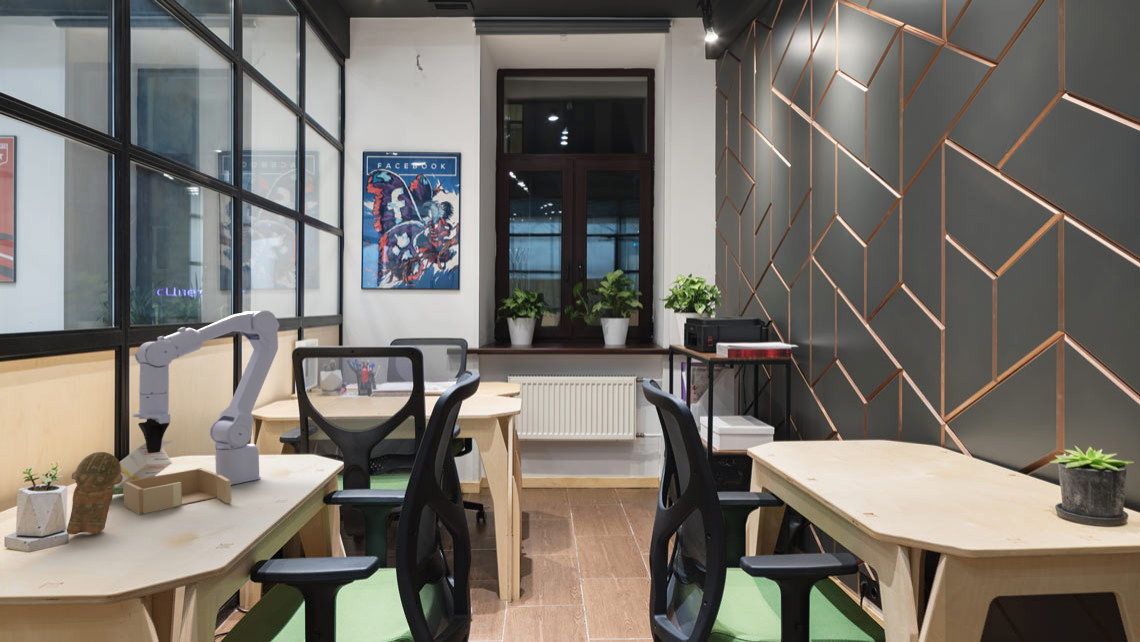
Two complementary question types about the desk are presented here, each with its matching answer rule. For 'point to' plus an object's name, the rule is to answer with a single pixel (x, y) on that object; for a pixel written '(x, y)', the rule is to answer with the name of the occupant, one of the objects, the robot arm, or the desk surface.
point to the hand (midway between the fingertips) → (153, 452)
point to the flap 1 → (162, 497)
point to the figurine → (93, 492)
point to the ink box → (142, 465)
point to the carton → (193, 483)
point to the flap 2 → (223, 489)
